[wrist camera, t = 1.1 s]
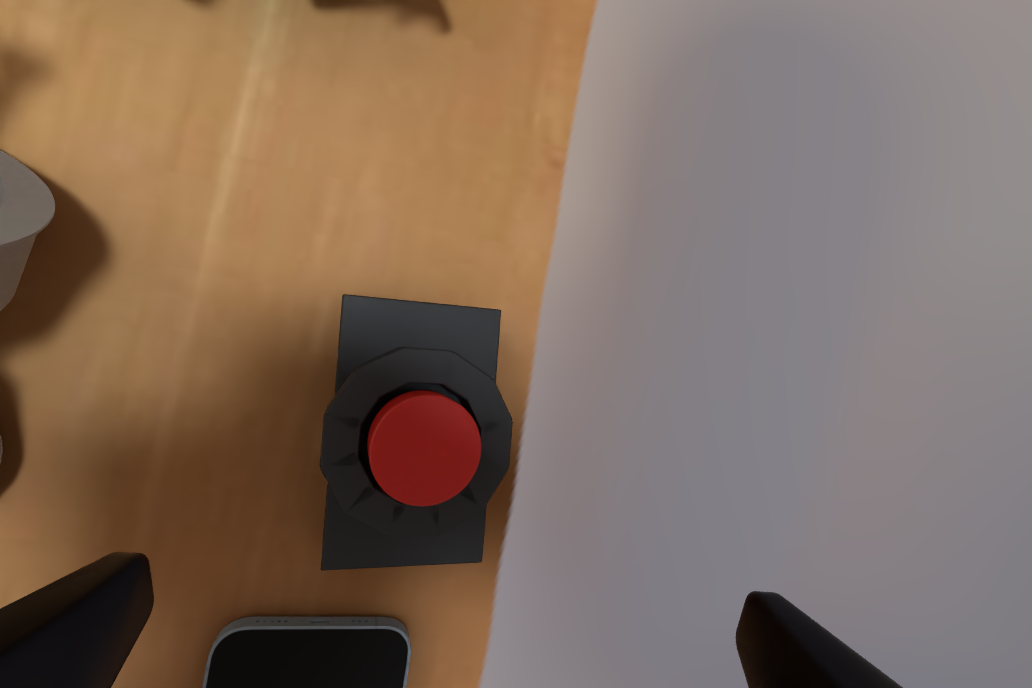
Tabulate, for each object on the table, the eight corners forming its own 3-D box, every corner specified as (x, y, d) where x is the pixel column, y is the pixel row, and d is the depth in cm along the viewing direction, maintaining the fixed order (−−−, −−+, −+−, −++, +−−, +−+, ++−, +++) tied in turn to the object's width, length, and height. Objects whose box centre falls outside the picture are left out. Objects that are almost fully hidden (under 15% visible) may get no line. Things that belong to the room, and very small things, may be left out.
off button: (466, 491, 19) (477, 506, 17) (363, 492, 18) (364, 508, 16) (474, 392, 19) (485, 397, 17) (371, 387, 18) (373, 392, 16)
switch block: (475, 542, 23) (501, 582, 19) (316, 548, 21) (309, 594, 17) (493, 312, 23) (521, 307, 19) (336, 297, 21) (333, 288, 17)
